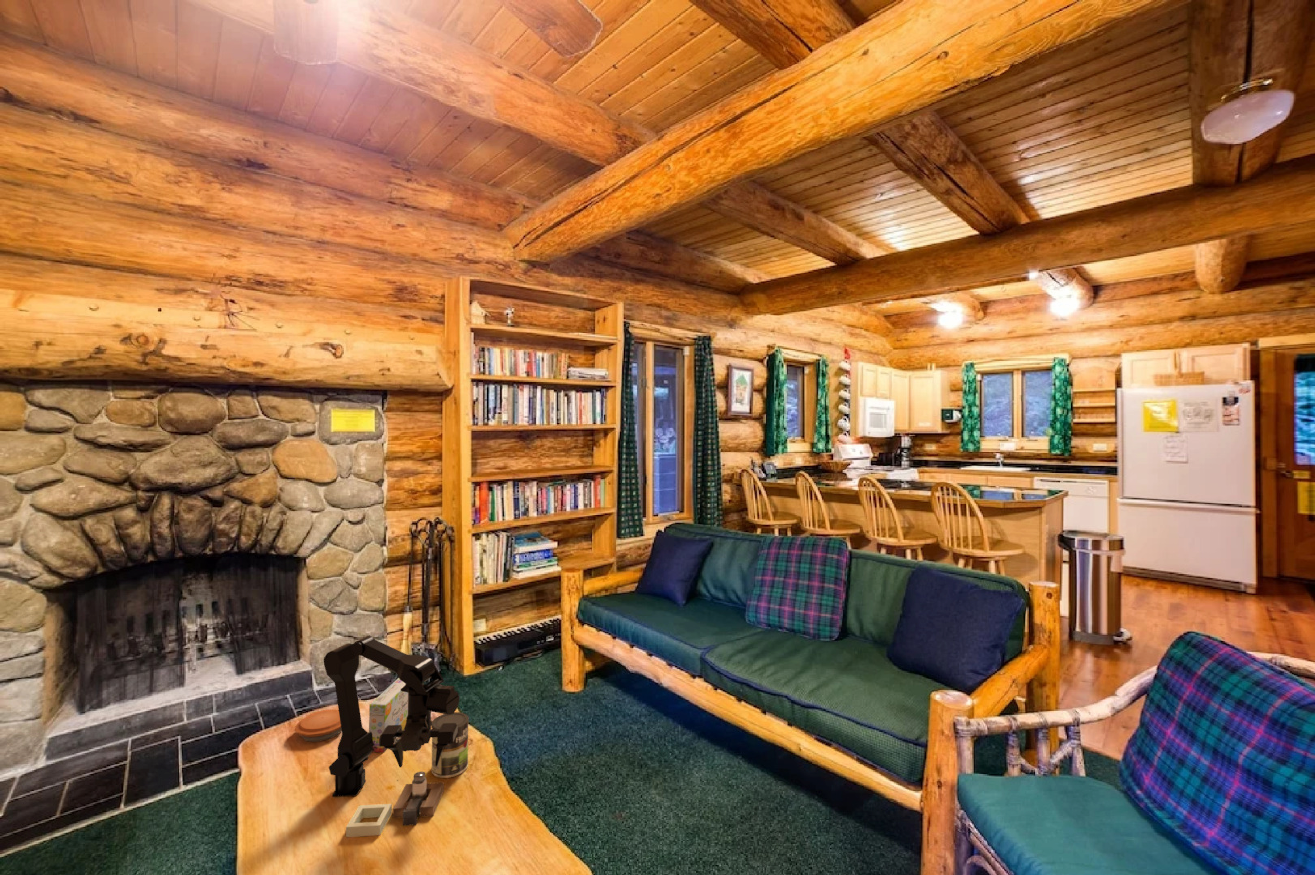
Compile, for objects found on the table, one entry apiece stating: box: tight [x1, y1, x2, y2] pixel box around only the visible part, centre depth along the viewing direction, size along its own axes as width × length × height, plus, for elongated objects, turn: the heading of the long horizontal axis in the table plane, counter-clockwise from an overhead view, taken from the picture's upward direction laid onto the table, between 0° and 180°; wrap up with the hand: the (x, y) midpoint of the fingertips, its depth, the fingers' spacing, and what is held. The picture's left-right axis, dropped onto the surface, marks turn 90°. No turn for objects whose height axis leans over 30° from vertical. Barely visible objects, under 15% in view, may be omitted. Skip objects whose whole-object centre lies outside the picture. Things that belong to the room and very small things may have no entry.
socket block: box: [392, 781, 445, 819], centre depth 152 cm, size 10×10×2 cm
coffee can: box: [431, 711, 470, 779], centre depth 168 cm, size 10×10×14 cm
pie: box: [294, 708, 342, 743], centre depth 186 cm, size 16×16×5 cm
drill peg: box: [411, 771, 428, 805], centre depth 152 cm, size 4×4×8 cm
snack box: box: [368, 677, 408, 753], centre depth 186 cm, size 21×6×15 cm, turn 179°
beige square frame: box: [345, 803, 393, 838], centre depth 144 cm, size 8×8×2 cm
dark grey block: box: [402, 798, 421, 826], centre depth 147 cm, size 3×5×4 cm, turn 6°
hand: (419, 765), depth 152 cm, fingers open, 9 cm apart
